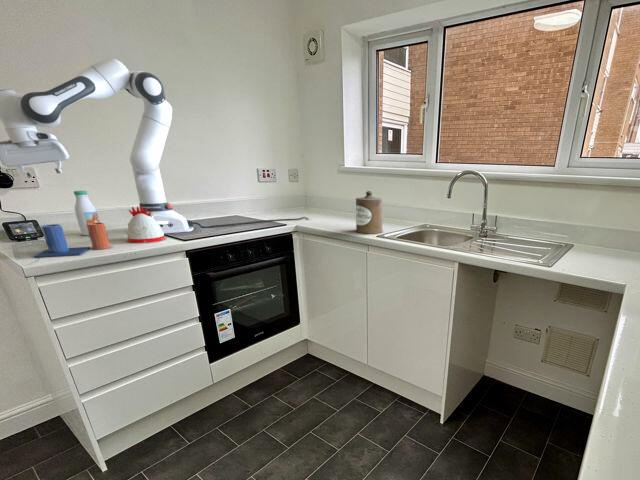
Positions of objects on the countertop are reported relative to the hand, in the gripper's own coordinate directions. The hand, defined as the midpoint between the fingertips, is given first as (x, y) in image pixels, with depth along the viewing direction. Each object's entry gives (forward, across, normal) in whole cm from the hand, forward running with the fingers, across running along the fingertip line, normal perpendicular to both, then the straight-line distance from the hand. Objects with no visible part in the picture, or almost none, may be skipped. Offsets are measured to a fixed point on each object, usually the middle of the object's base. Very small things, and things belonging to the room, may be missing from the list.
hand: (45, 175), depth 141 cm
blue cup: (+29, -3, -19) cm, 34 cm away
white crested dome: (+33, +23, -2) cm, 40 cm away
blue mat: (+30, -2, -19) cm, 35 cm away
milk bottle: (+26, +1, +20) cm, 33 cm away
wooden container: (+54, +128, -16) cm, 139 cm away
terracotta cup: (+31, +9, -14) cm, 35 cm away
